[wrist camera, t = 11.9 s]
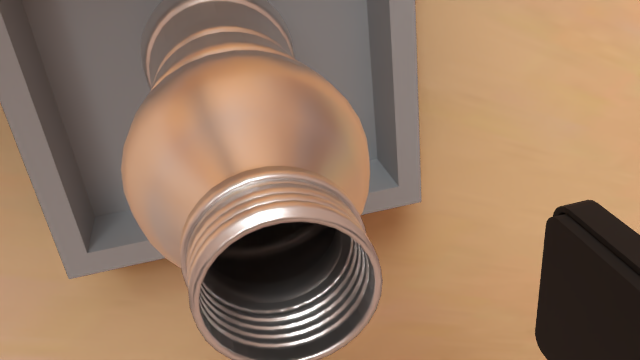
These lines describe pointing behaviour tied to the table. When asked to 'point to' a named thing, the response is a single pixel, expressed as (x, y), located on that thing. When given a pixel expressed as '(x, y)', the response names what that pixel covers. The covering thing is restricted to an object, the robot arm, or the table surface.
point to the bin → (132, 88)
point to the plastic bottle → (252, 182)
